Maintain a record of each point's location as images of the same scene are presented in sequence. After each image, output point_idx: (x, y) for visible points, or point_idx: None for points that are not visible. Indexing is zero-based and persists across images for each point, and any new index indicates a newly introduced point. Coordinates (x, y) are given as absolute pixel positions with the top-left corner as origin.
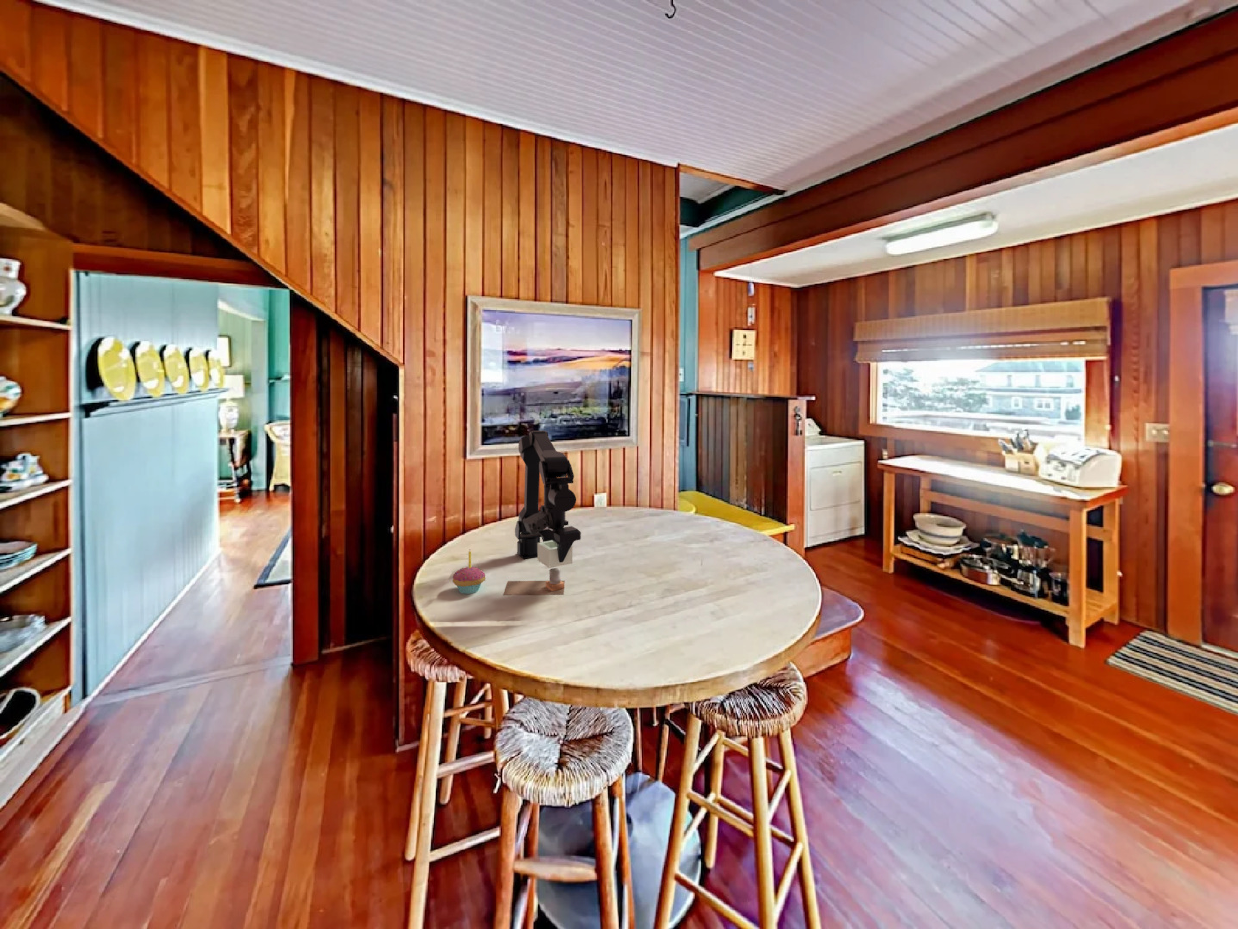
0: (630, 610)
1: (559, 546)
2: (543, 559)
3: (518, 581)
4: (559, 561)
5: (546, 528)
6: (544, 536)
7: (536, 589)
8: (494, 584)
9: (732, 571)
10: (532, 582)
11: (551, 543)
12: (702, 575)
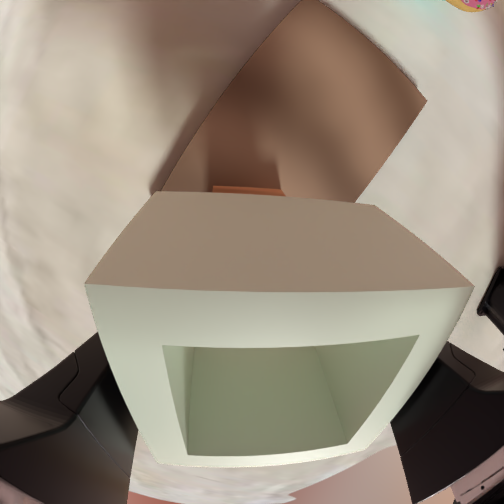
0: (19, 317)
1: (13, 397)
2: (275, 209)
3: (402, 128)
4: None
5: (489, 469)
6: (466, 399)
7: (276, 135)
8: (441, 70)
9: (154, 478)
10: (359, 167)
11: (368, 393)
12: (155, 464)
